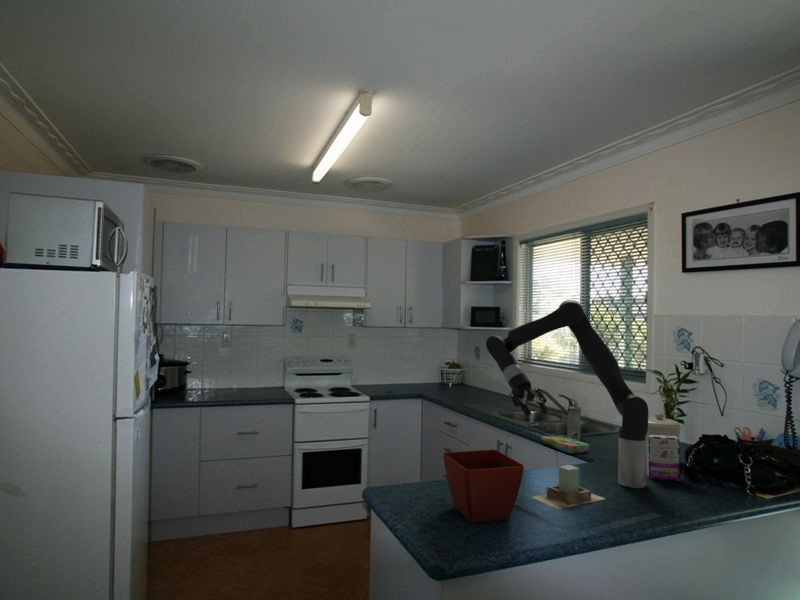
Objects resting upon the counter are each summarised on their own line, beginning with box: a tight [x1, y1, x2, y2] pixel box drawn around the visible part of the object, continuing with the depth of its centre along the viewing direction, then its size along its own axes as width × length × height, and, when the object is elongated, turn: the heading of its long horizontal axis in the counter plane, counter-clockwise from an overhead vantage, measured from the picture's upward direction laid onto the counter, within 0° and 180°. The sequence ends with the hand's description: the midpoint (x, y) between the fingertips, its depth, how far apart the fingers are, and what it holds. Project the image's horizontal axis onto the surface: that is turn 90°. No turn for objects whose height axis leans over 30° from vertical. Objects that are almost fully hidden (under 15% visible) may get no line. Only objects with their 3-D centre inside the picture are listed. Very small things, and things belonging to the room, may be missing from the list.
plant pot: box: [442, 449, 525, 524], centre depth 155 cm, size 19×19×17 cm
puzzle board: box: [531, 484, 606, 510], centre depth 167 cm, size 22×12×4 cm, turn 120°
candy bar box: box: [646, 434, 681, 482], centre depth 197 cm, size 11×5×16 cm, turn 76°
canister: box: [647, 412, 683, 439], centre depth 224 cm, size 18×18×21 cm
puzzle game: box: [541, 434, 590, 454], centre depth 241 cm, size 12×5×20 cm
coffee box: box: [566, 405, 582, 442], centre depth 262 cm, size 9×6×16 cm
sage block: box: [558, 464, 580, 494], centre depth 167 cm, size 5×4×10 cm
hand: (538, 414), depth 182 cm, fingers open, 8 cm apart
